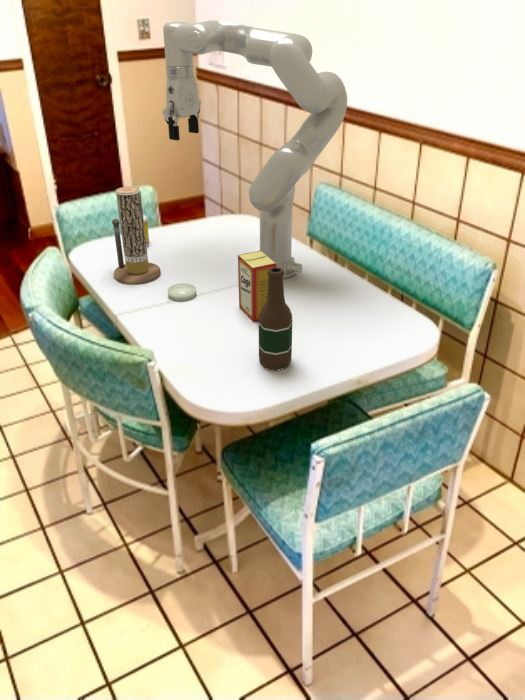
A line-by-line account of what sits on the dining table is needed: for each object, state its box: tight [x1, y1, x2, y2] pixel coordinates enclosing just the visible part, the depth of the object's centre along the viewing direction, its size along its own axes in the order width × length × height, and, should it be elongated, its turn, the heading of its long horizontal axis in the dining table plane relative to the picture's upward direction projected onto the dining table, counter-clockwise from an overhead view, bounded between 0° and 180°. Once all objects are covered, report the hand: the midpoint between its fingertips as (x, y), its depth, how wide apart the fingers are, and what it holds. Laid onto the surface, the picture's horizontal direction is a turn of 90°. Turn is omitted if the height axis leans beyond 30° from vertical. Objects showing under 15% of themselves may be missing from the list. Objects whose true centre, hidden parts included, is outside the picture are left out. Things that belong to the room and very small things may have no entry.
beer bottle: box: [258, 267, 293, 371], centre depth 145 cm, size 8×8×24 cm
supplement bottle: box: [142, 207, 150, 247], centre depth 211 cm, size 7×7×13 cm
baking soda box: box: [237, 250, 276, 323], centre depth 169 cm, size 10×6×16 cm
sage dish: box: [167, 283, 197, 302], centre depth 182 cm, size 8×8×2 cm
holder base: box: [111, 218, 162, 286], centre depth 190 cm, size 14×14×17 cm
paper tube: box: [115, 185, 149, 275], centre depth 187 cm, size 7×7×25 cm
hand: (184, 136), depth 184 cm, fingers open, 9 cm apart
